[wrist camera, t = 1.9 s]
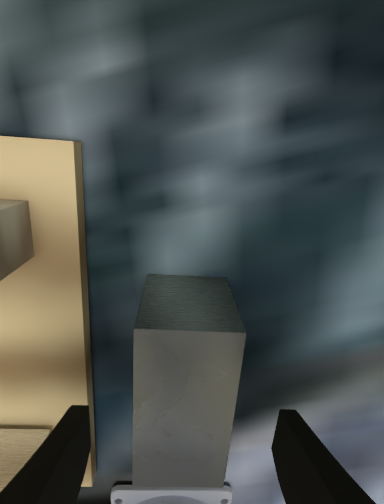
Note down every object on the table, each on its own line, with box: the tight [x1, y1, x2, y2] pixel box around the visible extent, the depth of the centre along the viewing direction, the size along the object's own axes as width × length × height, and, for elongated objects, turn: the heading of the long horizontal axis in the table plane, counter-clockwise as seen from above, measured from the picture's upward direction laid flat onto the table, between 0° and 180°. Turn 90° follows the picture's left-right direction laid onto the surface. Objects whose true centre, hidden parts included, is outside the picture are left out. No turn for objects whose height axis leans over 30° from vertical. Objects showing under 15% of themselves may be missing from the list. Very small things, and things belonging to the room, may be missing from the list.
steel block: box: [132, 274, 247, 488], centre depth 14 cm, size 8×4×5 cm, turn 176°
